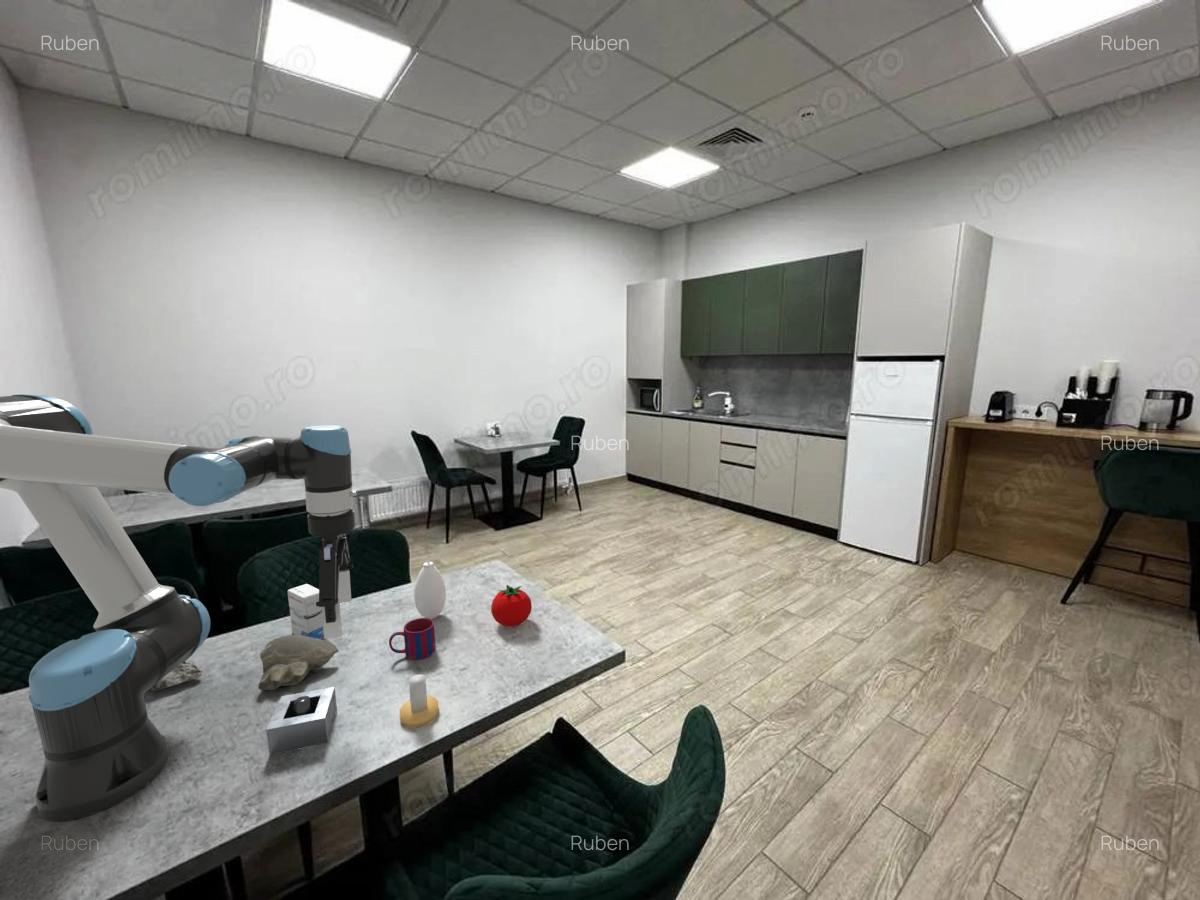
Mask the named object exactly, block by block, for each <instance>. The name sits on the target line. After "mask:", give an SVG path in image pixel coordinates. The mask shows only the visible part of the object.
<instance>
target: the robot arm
mask: <svg viewBox="0 0 1200 900" xmlns="http://www.w3.org/2000/svg"><path fill="white" fill-rule="evenodd" d="M351 453H352V448H351V445H350V438H349V431H348V430H347V428H345V427H344V426H342V425H335V424H334V425H333V424H332V425H331V424H327V425H310V426H306V427H303V428H302V429H301V431H300V436H299V437H298V436H297V437H286V436H285V437H284V436H283V437H280V436H279V437H277V436H274V437H273V436H272V437H271V436H270V437H269V436H258V435H252V436H244V437H243V436H241V437H235V438H232V439H230V440H229V441H228V444H225V446H224V447H219V448H214V447H213V448H212V447H204V446H202V447H201V446H192V445H188V444H187V445H185V444H178V443H169V442H161V441H160V442H159V441H151V440H150V441H149V440H141V439H133V438H132V439H131V438H122V437H115V436H114V437H113V436H106V435H105V436H104V435H95V434H93V429H92V425H91V423H90V421H89V420H88V417H86V415H85V414H84V413H83V411H81V410H80V409H79V408H78V407H76V406H74V404H71V403H70V402H68V401H66V400H64V399H62V398H61V399H60V398H57V397H55V396H51V395H40V394H38V395H37V394H12V395H5V396H0V489H4V490H5V489H6V490H10V491H13V492H15V493H17V495H18V496H19V498H21V501H22V502H23V503H24V505H25V507H26V508H27V509H28V511H29V512H30V514H31V515H32V517H33V518H34V519H35V521H36V523H37V524H38V526H39V527H40V528H41V530H42V531H43V532H44V534H45V536H46V537H47V538H48V540H49V541H50V544H52V546H53V548H54V549H55V550H56V552H57V553H58V555H59V556H60V558H61V559H62V561H63V562H64V563H65V565H66V567H67V568H68V569H69V571H70V572H71V574H72V576H73V577H74V578H75V580H76V581H77V583H78V584H79V585H80V587H81V588H82V591H84V593H85V595H86V596H87V597H88V599H89V600H90V602H91V603H92V605H93V606H94V608H95V609H96V610H97V612H98V616H97V618H96V619H95V622H94V623H93V629H94V630H95V631H93V632H91V633H88V634H84V635H82V636H81V637H80V638H77V639H71V640H68V641H66V642H64V643H62V644H61V645H59V646H58V647H55V648H54V649H52V650H50V651H49V652H48V653H46V654H45V655H44V656H42V657H41V658H40V659H39V660H38V661H37V662H36V664H35V665H34V666H33V667H32V669H31V670H30V673H29V676H28V684H29V685H28V686H29V695H28V698H29V702H30V704H31V706H32V710H33V714H34V717H35V721H36V725H37V730H38V734H39V736H40V737H39V738H40V742H41V747H42V751H43V754H44V755H43V756H44V763H43V766H42V771H41V774H40V778H39V783H38V784H37V785H38V786H37V789H36V793H35V804H36V809H37V812H38V814H39V816H40V817H41V818H43V819H44V820H47V821H52V822H61V821H60V820H65V821H70V820H69V819H72V820H75V819H74V818H77V819H80V817H81V818H84V817H87V816H91V815H93V814H96V813H99V812H101V811H103V810H106V809H108V808H110V806H111V807H113V806H115V805H117V804H119V803H120V802H123V801H124V800H126V799H127V798H129V797H131V796H133V795H134V794H136V793H137V792H138V790H139V791H140V790H142V789H143V788H144V787H145V786H147V785H148V784H149V783H151V780H152V779H153V778H154V779H155V778H156V777H157V776H158V775H159V774H160V773H161V772H162V771H163V769H164V767H165V766H166V765H167V763H168V760H169V756H170V753H169V747H168V743H167V740H166V738H165V737H164V736H163V735H162V734H161V732H160V730H159V729H158V728H157V727H156V726H155V724H154V723H153V722H152V720H151V719H149V716H148V712H147V711H148V710H147V706H146V701H145V693H146V692H148V691H149V690H150V688H151V687H152V686H154V685H155V684H156V683H157V682H159V681H160V680H161V679H162V678H164V677H165V676H166V675H167V674H168V673H170V672H171V671H172V670H173V669H175V668H176V667H177V666H178V665H179V664H181V663H182V662H184V661H185V662H186V661H187V660H189V659H190V658H191V657H192V656H193V655H194V654H195V653H196V651H197V650H198V649H199V648H201V646H203V644H204V643H205V642H206V640H207V638H208V635H209V633H210V630H211V618H210V617H211V616H210V615H209V611H208V610H207V608H206V606H205V605H204V604H203V603H202V602H201V601H200V600H198V599H196V598H191V596H189V595H185V594H179V593H178V592H177V590H176V589H175V587H173V586H169V585H162V584H160V583H159V582H158V581H157V579H156V578H155V575H153V573H152V571H151V570H150V568H149V567H148V565H147V564H146V563H147V562H145V560H144V558H143V557H142V556H141V554H140V552H139V551H138V550H137V548H136V546H135V545H134V543H133V541H132V540H131V539H130V537H129V536H128V533H126V530H125V529H124V527H123V526H122V524H121V522H119V520H118V519H117V517H116V515H115V514H114V512H113V511H112V509H111V507H110V505H109V504H108V503H107V501H106V500H105V498H104V496H103V494H102V493H101V492H100V491H99V488H101V489H111V490H112V489H113V490H123V491H134V492H144V493H152V494H153V493H155V494H164V495H174V496H175V497H176V498H177V499H179V500H181V501H183V502H184V503H186V504H188V505H191V506H195V507H206V506H211V505H213V504H220V503H222V502H223V503H224V502H226V501H228V500H230V499H232V498H234V497H235V496H237V495H240V494H242V493H244V492H246V491H249V490H251V489H253V488H256V487H259V486H261V485H263V484H266V483H268V482H270V481H274V480H275V481H276V480H303V481H304V491H305V492H304V495H305V504H306V505H305V506H306V507H305V508H306V512H308V514H307V528H308V533H309V534H310V535H311V536H314V537H320V538H322V540H321V543H320V544H319V548H318V557H319V559H318V560H319V564H318V565H319V567H318V568H319V570H318V573H319V577H318V578H319V579H318V582H319V583H318V589H319V602H316V606H319V607H322V617H323V630H324V636H323V640H326V639H333V638H339V637H342V636H343V629H342V615H341V613H342V612H341V603H346V602H347V603H349V602H352V591H351V575H350V573H351V572H350V569H353V568H354V562H351V558H350V556H351V555H350V552H349V551H350V549H349V544H348V540H347V534H348V533H350V532H352V531H353V530H354V529H355V527H356V517H355V510H354V509H353V506H354V497H356V496H357V494H358V493H357V492H356V490H353V478H352V477H353V475H352V473H353V472H352V458H351V457H352V456H351V455H352V454H351ZM156 775H157V776H156ZM154 779H153V780H154ZM153 780H152V781H153ZM148 782H149V783H148ZM147 783H148V784H147ZM146 784H147V785H146ZM142 787H143V788H142ZM135 792H136V793H135Z"/></svg>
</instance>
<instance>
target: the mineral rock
mask: <svg viewBox="0 0 1200 900" xmlns="http://www.w3.org/2000/svg"><path fill="white" fill-rule="evenodd" d="M203 674H204V673H203V671H202V669H200V668H198V667H197V664H196V665H195V664H194V663H192V664H191V663H190V662H186V661H184V662H182V663H181V664H179V665H178V666H177V667H176V668H175V669H173V670H172V671H171V672H170V673H168V674H167V675H166V676H165V677H164V678H162V679H161V680H160V681H159V682H157V683H156V684H155V685H154V686H152V687H151V688H150V689H149V690H150V691H151V692H156V691H161V690H164V689H166V688H170V687H173V686H177V685H180V684H182V683H185V682H189V681H192V680H197V679H199V678H200V677H201V676H202V675H203Z"/></svg>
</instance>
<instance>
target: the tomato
mask: <svg viewBox="0 0 1200 900" xmlns="http://www.w3.org/2000/svg"><path fill="white" fill-rule="evenodd" d="M521 587H522V585H520V586H517V587H512V586H510V585H509V584H506V589H505V588H504V589H502V590H501V589H498V591H499V592H497V594H496V595H495V596H494V598H493V599H492V601H491V607H490V609H491V615H492V617H493V619H494V620H495V622H497V623H498V624H499V625H501V626H504V627H508V628H510V627H511V628H512V627H513V628H514V627H516V626H519V625H522V624H523V623H524V622H525V621H527V619H529V616H530V615H531V612H532V601H531V597H530V595H528V593H527V592H525V591H524V590H522V589H520V588H521Z"/></svg>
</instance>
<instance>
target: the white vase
mask: <svg viewBox="0 0 1200 900" xmlns="http://www.w3.org/2000/svg"><path fill="white" fill-rule="evenodd" d="M426 560H427V561H426V562H424V563H423V564H422V568H421V569H420V571H419V573H418V576H417V579H416V582H415V586H414V594H413V595H414V597H413V598H414V603H415V608H416V610H417V612H418V613H419V615H420V616H421V617H422V618H429V619H432V620H433V619H435V618H437V617H438V616H439V615H440V614H441V613H442V611H443V609H444V608H445V605H446V599H447V591H446V585H445V581H444V578H443V576H442V575H441V572H440V571H439V569H438V568H437V567H436V565H434V562H433V561H430V557H429V554H428V553H427V555H426Z"/></svg>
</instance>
